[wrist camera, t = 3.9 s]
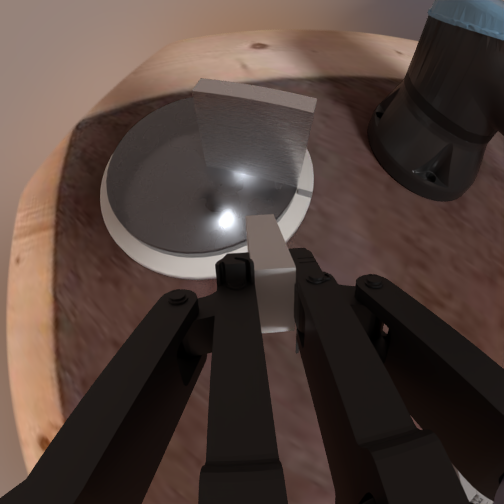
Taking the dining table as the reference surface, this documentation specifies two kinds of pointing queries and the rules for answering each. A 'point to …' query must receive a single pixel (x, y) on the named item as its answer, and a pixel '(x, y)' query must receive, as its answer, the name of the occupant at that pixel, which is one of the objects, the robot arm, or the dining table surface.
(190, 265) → the dial base
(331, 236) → the dining table surface
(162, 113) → the dial
